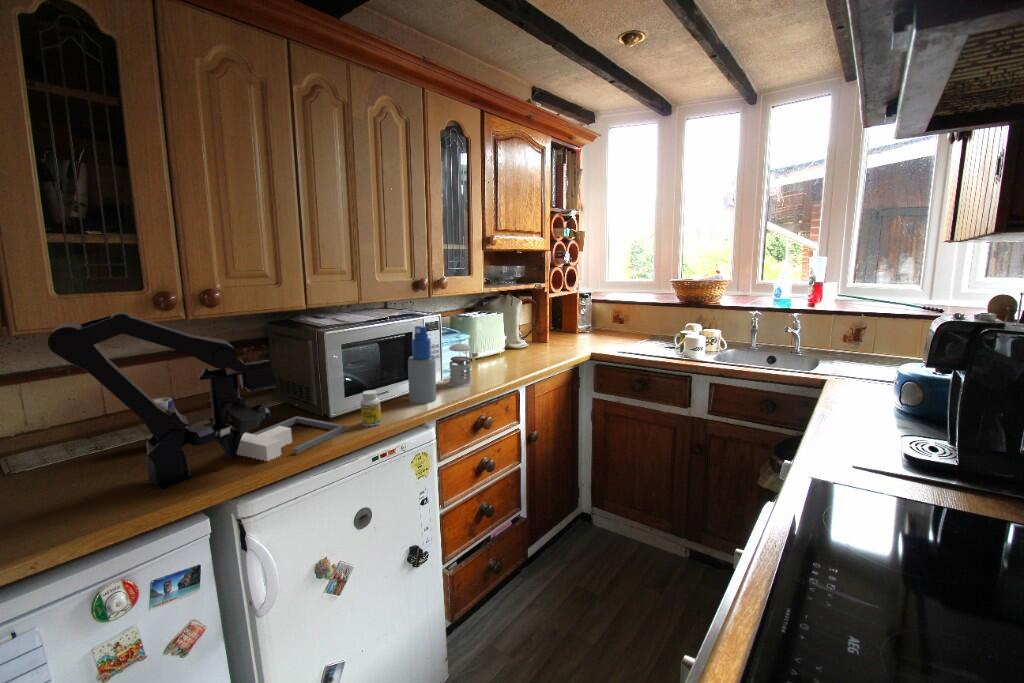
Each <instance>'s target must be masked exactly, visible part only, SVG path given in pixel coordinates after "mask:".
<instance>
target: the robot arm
mask: <svg viewBox="0 0 1024 683" xmlns="http://www.w3.org/2000/svg"><path fill="white" fill-rule="evenodd" d="M119 335H127V336H130V337H133V338H135V339H136V338H137V339H140V340H143V341H146V342H149V343H153V344H156V345H160V346H163V347H166V348H169V349H173V350H176V351H179V352H183V353H186V354H188V355H190V356H192V357H194V358H195V359H196V360H199V361H201V362H203V363H204V364H207V365H209V366H211V367H213V368H215V369H210V368H208V367H207V366H204V367H203V369H202V370H201V371H200V372H199V373H198V374H197V378H198V379H199V380H200V381H204V380H208V385H209V388H208V389H209V395H210V399H207V400H206V403H207V405H208V406H210V407H211V411H212V412H211V414H212V416H210V417H209V418H208V419H209V423H213V424H211V425H203V424H195V425H192V426H190V424H189V421H188V418H187V415H183V414H181V413H180V412H179V411H178V409H177V408H176V407H175V405H174V406H173V405H172V406H171V407H170V408H169V409H165V408H163V407H161V406H160V405H158V404H157V403H156V402H155V401H154V400H153V398H151V396H150V395H148V394H147V393H146V392H145V391H144V390H143V389H142V388H141V387H140V386H138V385H137V383H136V382H134V381H133V380H132V379H131V378H130V377H129V376H128V375H127V374H125V373H124V372H123V371H122V370H121V369H120V367H118V366H117V365H116V364H115V363H114V362H113V361H112V360H110V359H109V358H108V356H107V355H106V354H105V352H104V351H103V349H102V347H101V346H100V345H99V343H102V342H104V341H107V340H109V339H112V338H114V337H117V336H119ZM47 346H48V348H49V350H50V351H51V352H52V353H53V354H54V355H57V356H58V357H60V358H61V359H63V360H64V361H66V362H67V363H70V364H71V365H73V366H76V367H78V368H80V369H81V370H83V371H86V372H87V373H88V374H90V375H91V376H92V377H93V378H94V379H95V380H96V381H98V383H100V384H101V385H102V386H103V387H104V388H105V389H106V390H108V391H109V392H110V393H111V394H112V395H114V397H116V398H117V399H118V401H120V402H121V403H122V404H124V406H126V407H127V408H128V409H129V410H131V412H133V413H134V414H135V415H136V416H138V418H139V419H140V420H142V421H143V423H144V424H145V427H146V428H147V430H148V431H149V432H150V434H151V437H150V438H149V439H148V440H147V441H146V452H147V453H146V454H147V456H145V458H144V460H145V467H146V473H147V479H145V480H143V483H144V484H145V485H148V486H152V487H155V488H158V489H161V490H162V489H166V488H169V487H170V486H172V485H175V484H177V483H180V482H182V481H184V480H186V479H189V478H191V477H192V475H193V474H192V473H190V472H189V465H188V464H189V463H188V457H187V454H185V451H184V449H183V447H185V446H186V445H187V444H188V445H192V446H197V447H198V446H203V445H206V444H207V443H208V444H209V443H210V442H213V441H215V442H216V443H217V444H218V445H219V447H220V448H221V449H222V451H223V452H224V454H225V456H227V458H228V459H229V460H234V459H236V457H237V455H238V454H237V450H238V447H239V443H240V440H241V438H242V436H243V434H244V433H249V431H251V430H253V429H258V428H259V427H260V423H263V422H267V421H269V420H271V419H272V418H271V417H272V416H271V411H270V410H269V408H268V407H265V405H264V404H262V403H258V404H255V405H251V406H247V404H246V400H245V399H244V397H240V396H241V395H240V387H241V389H246V391H247V392H254V391H259V390H267V389H271V388H272V389H273V388H275V386H276V377H275V376H276V375H274V370H273V367H272V362H271V361H270V360H269V359H263V360H260V361H253V362H246V363H245V361H244V360H243V359H241V358H238V357H237V356H238V354H237V351H236V348H235V347H234V346H233V345H231V344H230V343H229V341H227V340H226V339H220V338H214V337H210V336H209V337H208V336H199V335H193V334H189V333H185V332H183V331H181V330H177V329H173V328H170V327H167V326H164V325H161V324H159V323H155V322H152V321H149V320H147V319H143V318H140V317H138V316H134V315H131V313H128V312H126V311H118V312H115V313H113V314H111V315H108V316H104V317H100V318H96V319H93V320H92V319H91V320H89V321H86V322H82V323H76V322H66V323H62V324H60V325H58V326H57V327H56V328H53V330H52V332H51V333H50V334H49V336H48V339H47ZM226 368H227V369H230V370H226ZM238 376H239V377H238ZM238 378H239V379H238ZM239 384H240V387H239ZM152 435H153V436H152Z"/></svg>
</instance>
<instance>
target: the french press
mask: <svg viewBox="0 0 1024 683" xmlns="http://www.w3.org/2000/svg"><path fill="white" fill-rule="evenodd" d="M456 321H457V322H458V328H459V329H458V333H459V336H458V337H459V338H458V339H459V343H455V344H452V345H450V346H449V347H448V349H449V350H450V351H452V352H462V353H463V354H465V356H461V355H460V356H459V355H456V356H452V357H450V361H449V381H448V382H447V384H446V385H447V386H449V387H452V388H465V387H467V388H468V387H471V386H473V385H474V382H473V381H472V379H471V377H472V376H471V360H472V359H471V352H470V350H471V348H472V347H470V346H469V345H468V344H465V343H462V342H461V327H460V326H461V322H462V321H463V319H462V318H461V317H458V318H457V319H456ZM467 353H469V357H468V355H467Z"/></svg>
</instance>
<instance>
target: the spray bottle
mask: <svg viewBox="0 0 1024 683" xmlns="http://www.w3.org/2000/svg"><path fill="white" fill-rule="evenodd" d="M427 330H428V328H427V326H426V325H425V326H421V325H417V326H414V334H413V338H412V339H411V346H412V347H411V349H412V350H411V352H412V353H411V354H412V356H408V358H407V371H408V372H407V374H408V376H407V377H408V378H407V379H408V399H409V400H408V401H409V402H410V403H413V404H416V405H424V404H425V405H426V404H430V402H431V403H434V402H436V401H437V384H436V383H437V381H436V377H437V374H436V359H435V356H434V355H432V353H431V352H432V351H431V350H432V349H431V338H429V334H428V331H427ZM433 401H434V402H433Z"/></svg>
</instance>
